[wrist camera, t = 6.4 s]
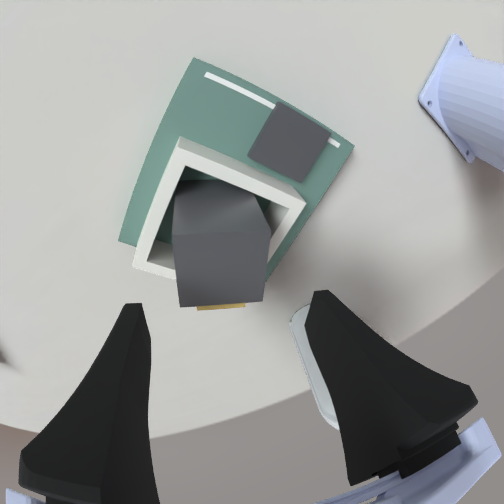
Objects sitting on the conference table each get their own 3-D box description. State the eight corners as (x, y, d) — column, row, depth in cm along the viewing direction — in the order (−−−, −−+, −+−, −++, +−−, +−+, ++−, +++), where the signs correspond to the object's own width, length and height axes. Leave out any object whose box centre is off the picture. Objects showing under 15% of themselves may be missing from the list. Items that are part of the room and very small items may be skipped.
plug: (245, 178, 17) (271, 230, 12) (241, 242, 19) (261, 308, 14) (177, 180, 16) (171, 235, 11) (181, 246, 18) (181, 314, 14)
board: (347, 141, 17) (376, 158, 14) (260, 276, 22) (271, 309, 20) (193, 58, 13) (193, 53, 10) (120, 232, 18) (110, 264, 15)
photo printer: (279, 320, 26) (322, 443, 16) (317, 293, 25) (377, 416, 15) (327, 354, 32) (365, 445, 22) (357, 334, 31) (403, 424, 21)
